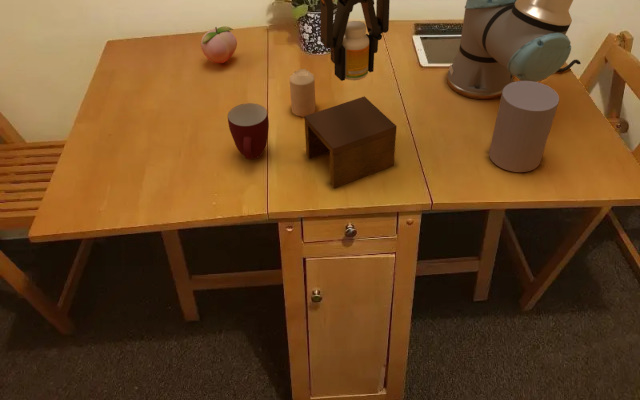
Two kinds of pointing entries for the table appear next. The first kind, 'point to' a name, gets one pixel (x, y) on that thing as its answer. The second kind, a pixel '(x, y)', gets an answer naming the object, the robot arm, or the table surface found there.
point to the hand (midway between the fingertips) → (354, 72)
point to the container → (523, 125)
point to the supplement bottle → (356, 50)
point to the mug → (249, 129)
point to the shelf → (351, 139)
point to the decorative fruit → (219, 44)
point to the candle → (302, 92)
